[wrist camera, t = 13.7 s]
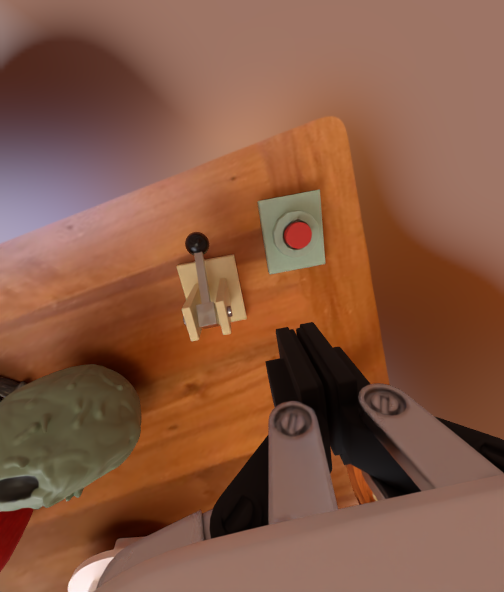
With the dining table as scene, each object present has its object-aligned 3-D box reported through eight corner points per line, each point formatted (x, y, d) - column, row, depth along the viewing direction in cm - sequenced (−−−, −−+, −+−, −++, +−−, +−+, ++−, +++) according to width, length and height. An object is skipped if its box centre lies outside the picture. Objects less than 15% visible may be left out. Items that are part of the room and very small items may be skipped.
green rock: (155, 420, 47) (104, 558, 28) (51, 410, 45) (-82, 555, 26) (163, 352, 43) (108, 462, 24) (46, 336, 40) (-120, 446, 21)
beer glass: (339, 453, 54) (376, 537, 40) (326, 435, 52) (361, 516, 38) (366, 440, 54) (415, 520, 40) (355, 420, 52) (401, 498, 37)
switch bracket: (177, 264, 38) (155, 285, 27) (233, 253, 38) (234, 270, 27) (195, 326, 41) (182, 367, 30) (246, 316, 42) (252, 353, 30)
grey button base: (257, 201, 36) (259, 200, 32) (315, 190, 36) (324, 188, 33) (268, 272, 39) (271, 277, 36) (321, 261, 40) (329, 266, 36)
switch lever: (187, 241, 34) (180, 230, 31) (209, 236, 34) (204, 225, 31) (200, 330, 31) (194, 327, 28) (224, 325, 32) (220, 322, 28)
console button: (282, 224, 34) (284, 224, 32) (306, 219, 34) (310, 219, 33) (285, 249, 35) (288, 251, 34) (309, 244, 35) (313, 246, 34)
